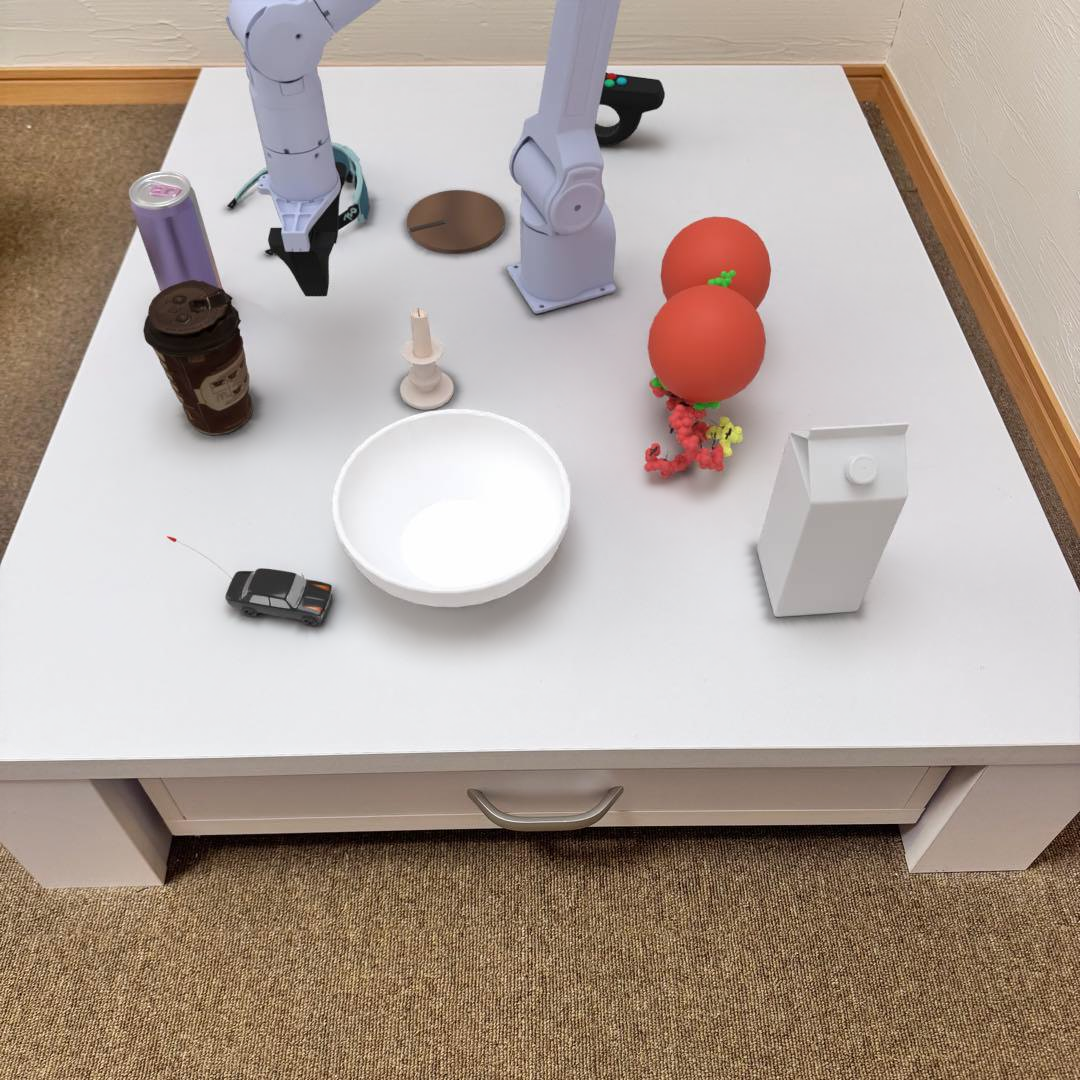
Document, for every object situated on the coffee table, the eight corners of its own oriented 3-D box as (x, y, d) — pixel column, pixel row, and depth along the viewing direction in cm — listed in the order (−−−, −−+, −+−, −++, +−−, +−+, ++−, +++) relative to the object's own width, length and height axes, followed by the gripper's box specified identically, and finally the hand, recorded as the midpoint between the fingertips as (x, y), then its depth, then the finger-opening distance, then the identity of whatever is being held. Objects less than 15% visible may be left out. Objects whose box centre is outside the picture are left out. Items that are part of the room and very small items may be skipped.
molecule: (627, 306, 111) (680, 179, 100) (724, 336, 113) (788, 214, 101) (608, 475, 95) (669, 345, 83) (722, 507, 96) (798, 384, 85)
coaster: (483, 185, 125) (483, 180, 124) (519, 239, 118) (519, 234, 118) (394, 207, 122) (393, 202, 121) (426, 263, 116) (426, 258, 115)
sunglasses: (394, 217, 121) (384, 181, 116) (279, 278, 117) (265, 243, 113) (336, 157, 128) (325, 121, 123) (226, 213, 124) (210, 178, 120)
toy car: (324, 631, 87) (308, 575, 81) (185, 609, 88) (158, 552, 82) (338, 593, 89) (323, 535, 83) (202, 572, 91) (177, 514, 84)
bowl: (396, 678, 84) (386, 630, 79) (311, 508, 95) (297, 455, 89) (610, 586, 90) (615, 534, 84) (507, 435, 100) (506, 380, 95)
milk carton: (755, 549, 92) (799, 393, 77) (836, 544, 93) (894, 387, 78) (773, 618, 88) (823, 466, 73) (857, 612, 88) (924, 460, 73)
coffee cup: (283, 393, 104) (256, 287, 93) (242, 453, 99) (208, 348, 89) (204, 373, 105) (169, 266, 95) (160, 430, 101) (117, 325, 90)
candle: (423, 365, 106) (414, 282, 98) (464, 387, 104) (458, 303, 96) (389, 395, 104) (376, 312, 95) (430, 418, 102) (421, 335, 93)
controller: (563, 126, 132) (565, 47, 124) (661, 137, 131) (669, 59, 123) (556, 145, 130) (557, 66, 122) (656, 157, 128) (664, 78, 120)
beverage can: (215, 336, 109) (176, 211, 97) (160, 328, 109) (115, 203, 97) (237, 299, 112) (202, 173, 100) (184, 291, 113) (143, 166, 101)
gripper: (260, 88, 93) (289, 219, 104) (232, 186, 84) (266, 318, 95) (341, 88, 93) (361, 219, 104) (321, 186, 84) (345, 318, 95)
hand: (321, 267), depth 99 cm, fingers open, 7 cm apart
